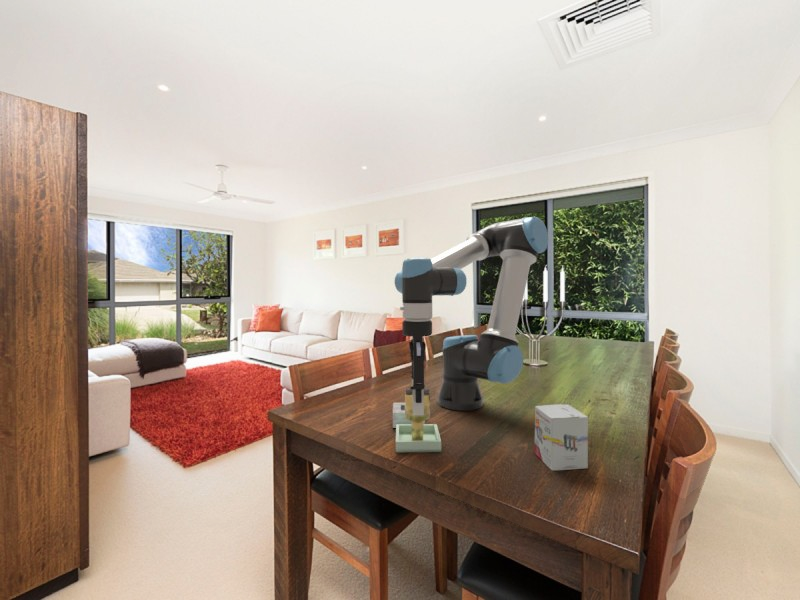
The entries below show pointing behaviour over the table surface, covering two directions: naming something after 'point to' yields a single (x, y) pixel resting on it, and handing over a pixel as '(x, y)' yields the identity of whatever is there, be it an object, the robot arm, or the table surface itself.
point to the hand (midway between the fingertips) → (417, 409)
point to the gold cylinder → (417, 419)
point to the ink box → (561, 437)
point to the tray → (406, 443)
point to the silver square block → (400, 414)
